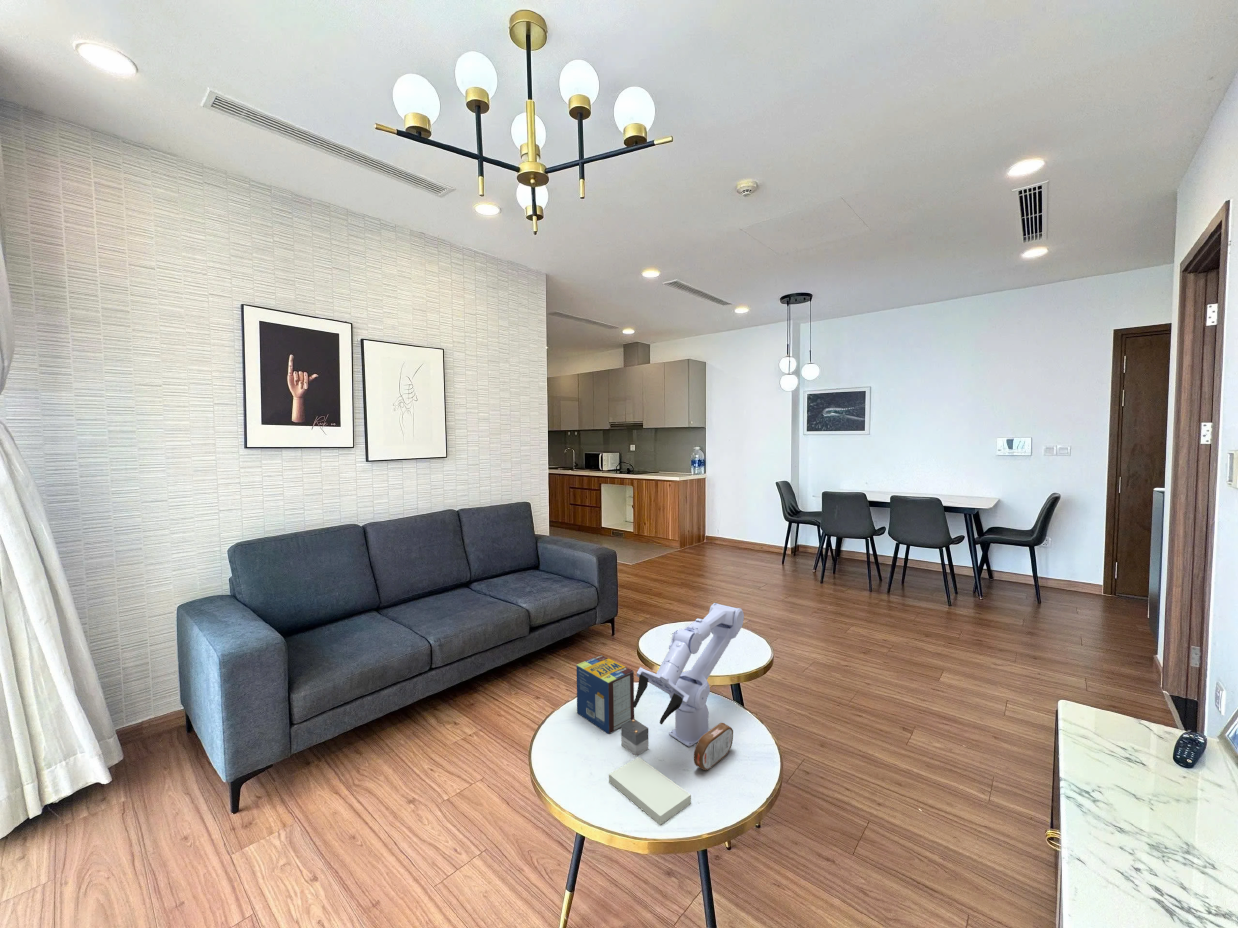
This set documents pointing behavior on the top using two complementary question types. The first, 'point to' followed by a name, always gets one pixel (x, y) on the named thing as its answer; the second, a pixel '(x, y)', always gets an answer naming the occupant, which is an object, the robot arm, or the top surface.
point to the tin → (713, 746)
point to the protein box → (605, 693)
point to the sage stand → (650, 790)
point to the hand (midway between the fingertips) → (647, 713)
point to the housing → (634, 737)
